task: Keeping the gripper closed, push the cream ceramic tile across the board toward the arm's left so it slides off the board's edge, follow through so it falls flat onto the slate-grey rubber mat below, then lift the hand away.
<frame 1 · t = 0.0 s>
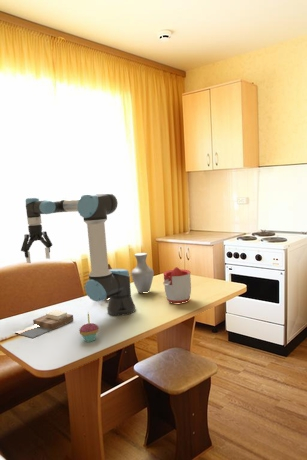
hand: (38, 260, 211), 28 cm above the table, fingers open, 13 cm apart
vase: (143, 292, 230), on the table
tile: (56, 316, 185), point 3 cm above the table, touching board
mat: (33, 331, 175), on the table
board: (53, 323, 185), on the table
coffee package: (108, 298, 223), on the table
citrus juicer: (177, 302, 206), on the table
cupcake: (90, 340, 160), on the table
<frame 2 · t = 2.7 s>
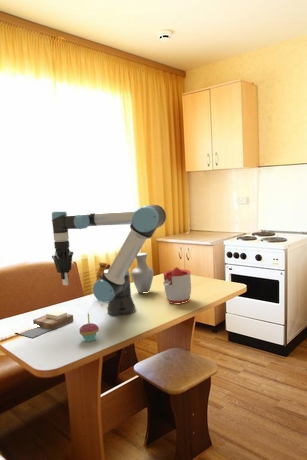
hand: (65, 284, 190), 18 cm above the table, fingers closed
nothing on the table moved.
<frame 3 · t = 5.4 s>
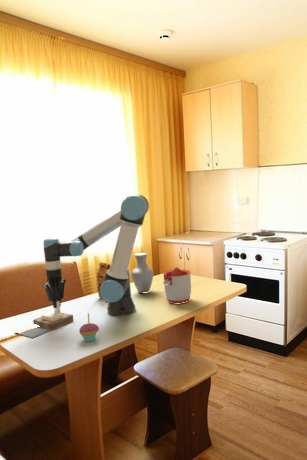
hand: (57, 313, 186), 4 cm above the table, fingers closed
tile: (52, 318, 183), point 3 cm above the table, touching board, gripper
everything else where it was.
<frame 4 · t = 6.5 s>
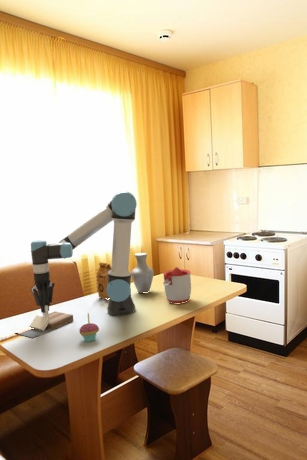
hand: (45, 318, 180), 4 cm above the table, fingers closed
tile: (41, 324, 178), point 2 cm above the table, tilted 39°, touching gripper, mat
everything else where it was.
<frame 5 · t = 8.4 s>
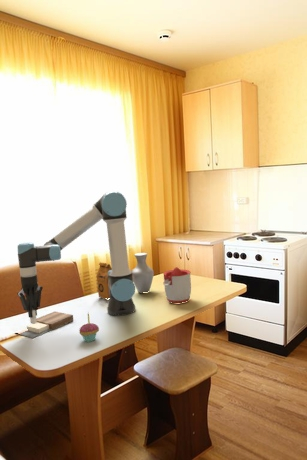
hand: (33, 323, 174), 4 cm above the table, fingers closed
tile: (38, 329, 176), resting on mat
everything else where it was.
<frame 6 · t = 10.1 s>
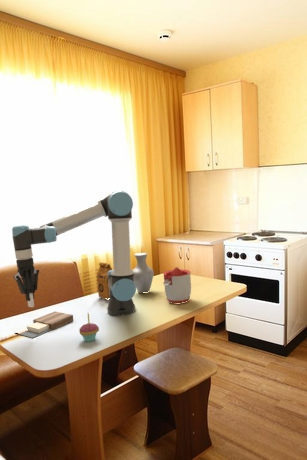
hand: (31, 306, 172), 13 cm above the table, fingers closed
nothing on the table moved.
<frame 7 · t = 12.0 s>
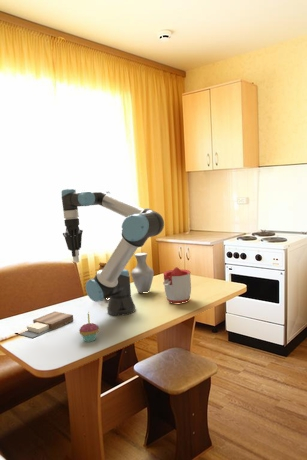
hand: (76, 262, 193), 29 cm above the table, fingers closed
nothing on the table moved.
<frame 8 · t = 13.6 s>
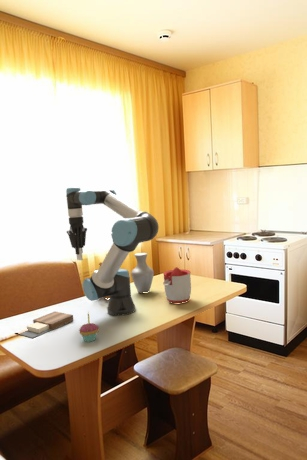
hand: (79, 259, 196), 29 cm above the table, fingers closed
nothing on the table moved.
at the end: tile resting on mat; tile inside the target area on the mat (2.5 cm from its centre), point 0.4 cm above the mat's base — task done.
